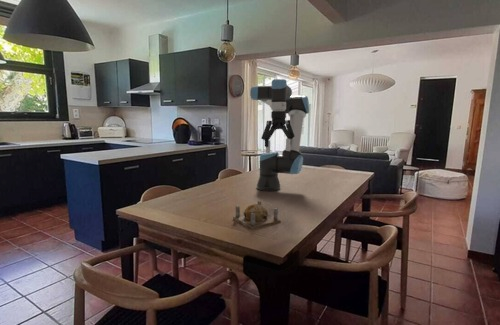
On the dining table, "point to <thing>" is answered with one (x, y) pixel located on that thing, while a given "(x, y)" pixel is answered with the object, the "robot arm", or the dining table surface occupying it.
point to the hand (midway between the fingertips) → (278, 152)
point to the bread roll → (256, 212)
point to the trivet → (252, 224)
